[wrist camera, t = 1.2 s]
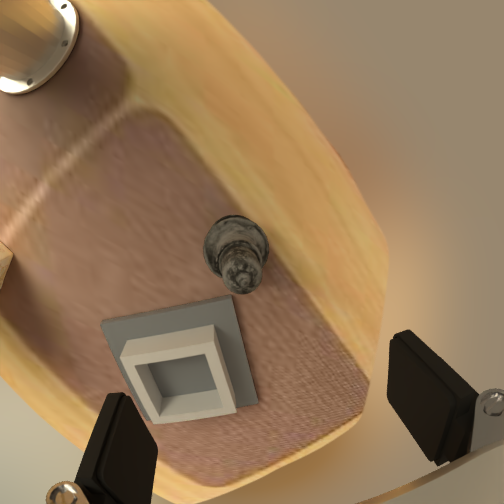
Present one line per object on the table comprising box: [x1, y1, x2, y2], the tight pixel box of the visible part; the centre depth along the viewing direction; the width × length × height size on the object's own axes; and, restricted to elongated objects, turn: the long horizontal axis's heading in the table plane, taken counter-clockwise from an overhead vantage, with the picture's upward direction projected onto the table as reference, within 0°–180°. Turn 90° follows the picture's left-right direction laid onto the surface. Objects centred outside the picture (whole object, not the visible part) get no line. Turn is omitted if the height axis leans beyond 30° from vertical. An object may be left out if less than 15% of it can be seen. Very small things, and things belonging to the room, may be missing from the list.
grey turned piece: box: [203, 215, 269, 294], centre depth 26 cm, size 6×6×12 cm
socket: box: [100, 295, 259, 424], centre depth 33 cm, size 15×15×4 cm
